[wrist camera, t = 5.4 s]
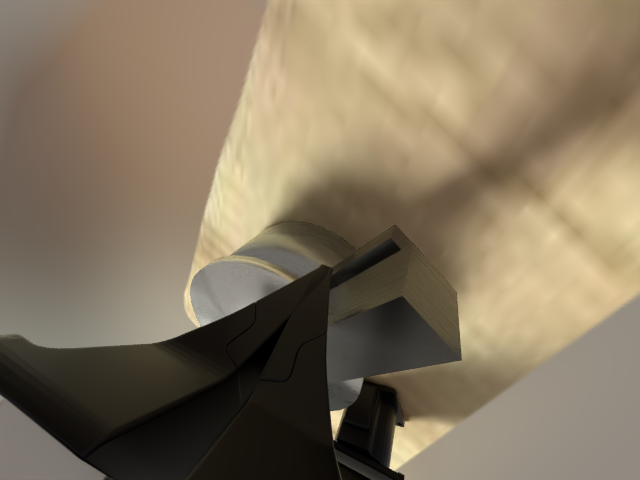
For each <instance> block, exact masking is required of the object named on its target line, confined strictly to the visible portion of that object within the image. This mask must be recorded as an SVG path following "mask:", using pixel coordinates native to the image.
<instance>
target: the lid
mask: <svg viewBox="0 0 640 480" xmlns="http://www.w3.org/2000/svg"><path fill="white" fill-rule="evenodd" d="M298 278H299V277H298V276H296V275H295V274H293V273H291V272H289V271H287V270H286V269H284V268H282V267H279V266H277V265H275V264H272V263H270V262H267V261H264V260H261V259H258V258H254V257H248V256H236V255H232V256H225V257H221V258H218V259H216V260H214V261H213V262H211V263H210V264H208V265H207V266H205V267H204V268H203V269H201V270H200V271H199V272H198V273H197V274H196V275H195V276H194V278H193V280H192V283H191V288H190V296H191V303H192V306H193V310H194V312H195V315H196V317H197V319H198V321H199V323H200V325H201V327H202V326H204V325H207V324H209V323H211V322H214V321H216V320H218V319H221V318H223V317H225V316H227V315H230V314H232V313H234V312H236V311H238V310H240V309H242V308H244V307H246V306H248V305H250V304H251V303H253V302H256V301H257V300H259V299H261V298H263V297H265V296H267V295H268V294H270V293H272V292H274V291H276V290H278V289H280V288H281V287H283V286H285V285H287V284H289V283H291V282H293V281H295V280H296V279H298ZM460 360H462V358H461V345H460V331H459V317H458V304H457V292H456V291H455V290H454V289H453V287H452V286H451V285H450V284H449V283H448V282H447V281H446V280H445V278H444V277H443V276H442V275H441V274H440V273H439V272H438V271H437V269H436V268H435V267H434V266H433V265H432V264H431V263H430V262H429V260H428V259H427V258H426V257H425V256H424V255H423V254H422V253H421V251H420V250H419V249H418V248H417V247H416V246H415V245H414V244H413V243H412V244H411V245H409V246H407V247H405V248H404V249H402V250H400V251H398V252H397V253H395V254H393V255H391V256H390V257H388V258H386V259H384V260H383V261H381V262H379V263H377V264H376V265H374V266H372V267H370V268H369V269H367V270H365V271H363V272H361V273H360V274H358V275H356V276H354V277H353V278H351V279H349V280H347V281H346V282H344V283H342V284H340V285H339V286H337V287H335V288H333V289H332V290H330V294H329V312H328V329H327V353H326V363H327V380H328V392H329V404H330V411H335V410H341V409H344V408H347V407H348V406H350V405H352V404H353V403H354V402H355V401H356V399H357V398H358V396H359V394H360V391H361V387H362V384H363V380H364V377H369V376H375V375H381V374H386V373H392V372H398V371H404V370H409V369H415V368H421V367H426V366H432V365H438V364H443V363H449V362H455V361H460Z"/></svg>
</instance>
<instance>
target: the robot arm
mask: <svg viewBox="0 0 640 480" xmlns="http://www.w3.org/2000/svg"><path fill="white" fill-rule="evenodd" d="M332 274H333V268H332V267H329V266H327V265H324V264H321V265H320V266H319V268H317V269H315V270H313V271H311V272H309V273H308V274H306V275H304V276H302V277H300V278H298V279H296V280H295V281H293V282H291V283H289V284H287V285H285V286H283V287H281V288H280V289H278V290H276V291H274V292H272V293H270V294H268V295H267V296H265V297H263V298H261V299H259V300H257V301H256V302H253V303H251V304H250V305H248V306H246V307H244V308H242V309H240V310H238V311H236V312H234V313H232V314H230V315H227V316H225V317H223V318H221V319H218V320H216V321H214V322H211V323H209V324H207V325H204V326H202V327H199V328H197V329H195V330H192V331H190V332H188V333H185V334H183V335H180V336H178V337H175V338H172V339H169V340H166V341H162V342H158V343H152V344H140V345H139V344H138V345H120V346H104V347H87V348H86V347H85V348H61V349H58V348H46V347H42V346H37V345H35V344H33V343H32V342H30V341H29V340H27V339H26V338H24V337H23V336H21V335H19V334H9V335H0V395H1V396H3V397H4V399H3V400H2V401H0V480H404V475H403V474H401V473H399V472H398V473H397V472H395V471H393V470H391V469H389V466H390V459H391V452H392V445H393V438H394V431H395V425H397V426H400V427H404V424H405V421H404V417H403V414H402V410H401V406H400V403H399V399H398V395H397V392H396V391H395V390H394V389H391V388H387V387H382V386H378V385H374V384H370V383H366V382H363V384H362V387H361V391H360V394H359V396H358V398H357V399H356V401H355V402H354V403H353V404H352V405H350V406H348V407H347V408H344V411H343V415H342V418H341V421H340V424H339V427H338V430H337V434H336V437H335V440H333V435H332V426H331V416H330V404H329V392H328V380H327V363H326V353H327V329H328V312H329V294H330V282H331V278H332Z"/></svg>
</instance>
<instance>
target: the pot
mask: <svg viewBox="0 0 640 480" xmlns="http://www.w3.org/2000/svg"><path fill="white" fill-rule="evenodd" d="M411 244H412V242H411V241H410V240H409V239H408V238H407V237H406V236H405V235H404V234H403V233H402V231H401V230H400V229H399V228H398V227H397V226H396V225H394V226H392V227H391V228H389V229H388V230H386V231H385V232H384V233H382V234H381V235H379V236H378V237H376V238H375V239H373V240H372V241H370V242H369V243H367V244H366V245H364V246H363V247H361V248H360V249H358V250H357V251H356V250H355V249H354V248H353V247H352V246H351V245H350V244H348V243H347V242H346V241H344V240H343V239H342V238H340V237H339V236H337V235H335V234H334V233H332V232H330V231H328V230H326V229H324V228H322V227H319V226H316V225H313V224H309V223H304V222H294V221H291V222H282V223H277V224H275V225H272V226H270V227H268V228H267V229H265V230H264V231H262V232H261V233H260V234H258V235H257V236H256V237H254V238H253V239H252V240H250V241H249V242H248V243H246V244H245V245H243V246H242V247H241V248H239V249H238V250H237V251H235V252H234V253H233V254H231V255H230V256H232V255H236V256H248V257H254V258H258V259H261V260H264V261H267V262H270V263H272V264H275V265H277V266H279V267H282V268H284V269H286V270H287V271H289V272H291V273H293V274H295V275H296V276H298V277H299V278H300V277H302V276H304V275H306V274H308V273H309V272H311V271H313V270H315V269H317V268H319V266H320V265H321V264H324V265H327V266H329V267H332V268H333V274H332V278H331V282H330V290H332V289H333V288H335V287H337V286H339V285H340V284H342V283H344V282H346V281H347V280H349V279H351V278H353V277H354V276H356V275H358V274H360V273H361V272H363V271H365V270H367V269H369V268H370V267H372V266H374V265H376V264H377V263H379V262H381V261H383V260H384V259H386V258H388V257H390V256H391V255H393V254H395V253H397V252H398V251H400V250H402V249H404V248H405V247H407V246H409V245H411Z"/></svg>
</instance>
